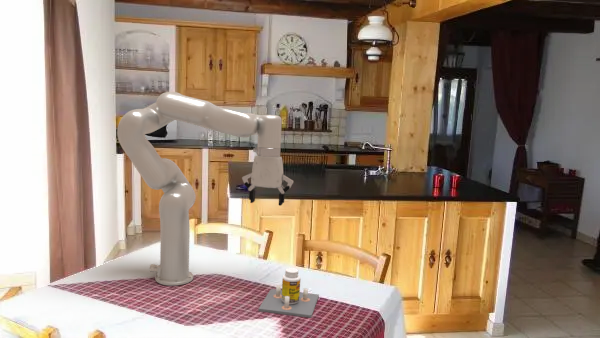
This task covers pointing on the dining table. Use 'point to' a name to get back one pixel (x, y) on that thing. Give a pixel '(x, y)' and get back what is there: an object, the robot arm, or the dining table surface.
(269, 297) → the peg board
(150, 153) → the robot arm
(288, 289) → the supplement bottle
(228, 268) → the dining table surface
